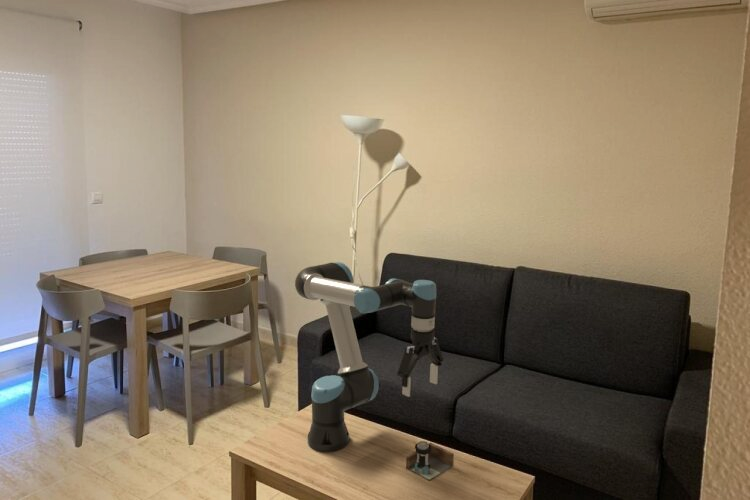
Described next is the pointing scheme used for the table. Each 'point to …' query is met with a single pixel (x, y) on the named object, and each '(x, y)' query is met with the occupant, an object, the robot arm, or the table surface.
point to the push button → (422, 457)
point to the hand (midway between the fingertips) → (420, 388)
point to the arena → (432, 461)
